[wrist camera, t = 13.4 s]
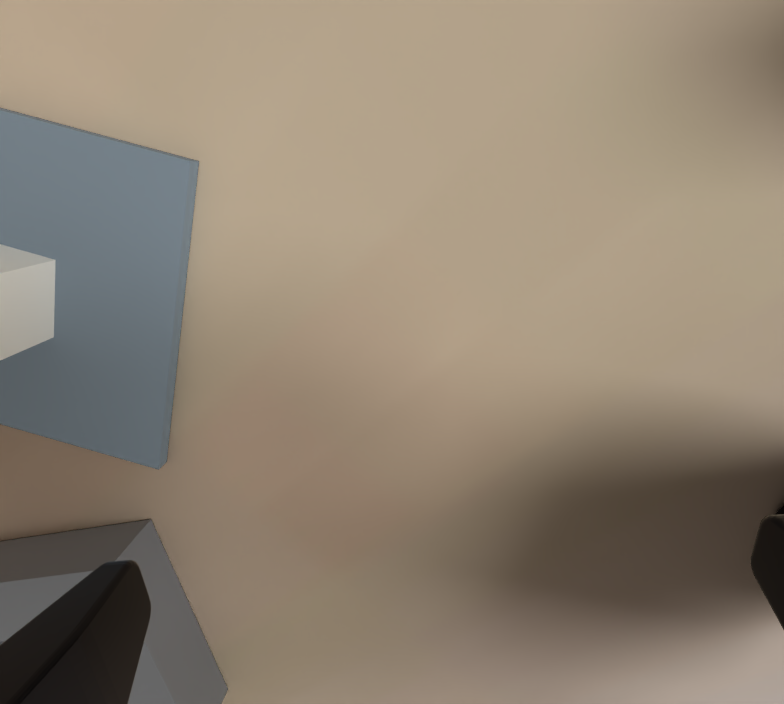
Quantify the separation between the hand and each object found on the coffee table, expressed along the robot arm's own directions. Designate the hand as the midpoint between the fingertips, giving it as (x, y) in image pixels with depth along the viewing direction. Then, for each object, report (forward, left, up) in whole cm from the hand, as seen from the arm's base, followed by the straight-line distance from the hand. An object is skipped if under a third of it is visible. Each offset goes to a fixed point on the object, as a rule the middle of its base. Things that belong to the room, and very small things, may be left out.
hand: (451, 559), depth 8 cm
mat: (+11, +11, -12) cm, 20 cm away
